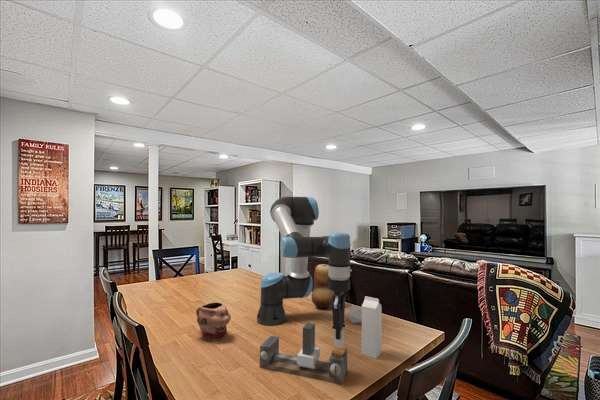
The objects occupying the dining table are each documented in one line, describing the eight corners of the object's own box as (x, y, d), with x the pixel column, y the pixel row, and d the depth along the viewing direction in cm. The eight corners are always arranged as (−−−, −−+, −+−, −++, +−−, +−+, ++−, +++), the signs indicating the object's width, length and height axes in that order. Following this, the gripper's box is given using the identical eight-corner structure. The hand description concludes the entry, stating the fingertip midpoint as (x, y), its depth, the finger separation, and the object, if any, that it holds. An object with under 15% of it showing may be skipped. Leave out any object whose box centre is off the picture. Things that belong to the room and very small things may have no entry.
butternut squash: (328, 313, 159) (329, 267, 160) (307, 308, 165) (308, 265, 167) (338, 306, 171) (338, 264, 172) (318, 302, 177) (318, 262, 179)
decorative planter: (184, 337, 126) (185, 305, 127) (204, 327, 137) (204, 297, 138) (219, 346, 118) (220, 312, 118) (238, 335, 129) (238, 303, 129)
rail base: (258, 367, 102) (259, 346, 102) (270, 355, 111) (270, 335, 111) (342, 385, 92) (342, 361, 92) (347, 370, 101) (347, 348, 101)
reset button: (331, 361, 96) (331, 349, 97) (334, 356, 100) (334, 344, 100) (343, 363, 95) (343, 351, 95) (345, 358, 99) (345, 346, 99)
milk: (367, 348, 117) (367, 294, 119) (381, 353, 114) (381, 297, 115) (361, 354, 113) (361, 297, 114) (376, 359, 109) (376, 300, 110)
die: (361, 328, 140) (370, 310, 143) (346, 318, 141) (355, 301, 145) (358, 328, 147) (366, 311, 151) (343, 318, 149) (352, 302, 152)
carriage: (296, 367, 98) (297, 328, 99) (304, 356, 106) (304, 320, 106) (313, 371, 96) (313, 331, 97) (319, 359, 104) (320, 322, 104)
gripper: (346, 283, 92) (346, 358, 90) (352, 275, 104) (352, 341, 103) (324, 281, 94) (323, 354, 93) (332, 273, 106) (332, 337, 105)
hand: (338, 347), depth 98 cm, fingers closed
